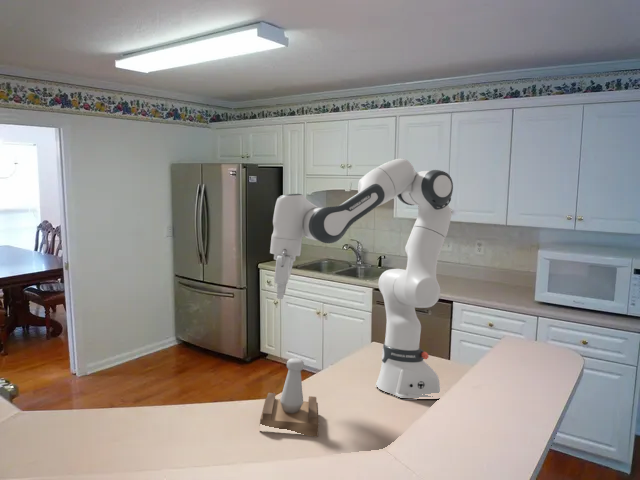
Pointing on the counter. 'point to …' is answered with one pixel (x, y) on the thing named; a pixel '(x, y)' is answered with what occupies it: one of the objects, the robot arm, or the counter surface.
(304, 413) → the display stand
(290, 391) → the salt shaker
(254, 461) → the counter surface
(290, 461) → the counter surface
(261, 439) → the counter surface
